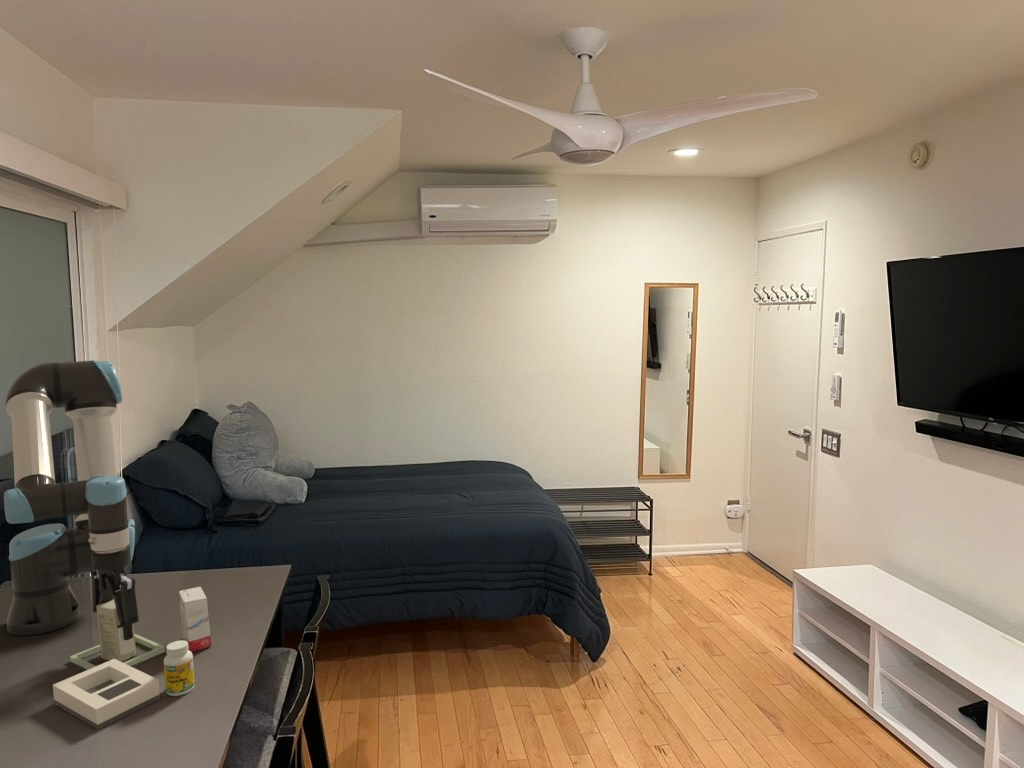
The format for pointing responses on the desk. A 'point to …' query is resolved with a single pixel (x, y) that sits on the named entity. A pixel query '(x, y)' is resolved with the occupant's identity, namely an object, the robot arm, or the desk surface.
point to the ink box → (195, 618)
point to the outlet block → (106, 693)
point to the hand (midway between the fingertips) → (117, 648)
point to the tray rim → (156, 651)
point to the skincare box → (110, 632)
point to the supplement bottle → (178, 669)
